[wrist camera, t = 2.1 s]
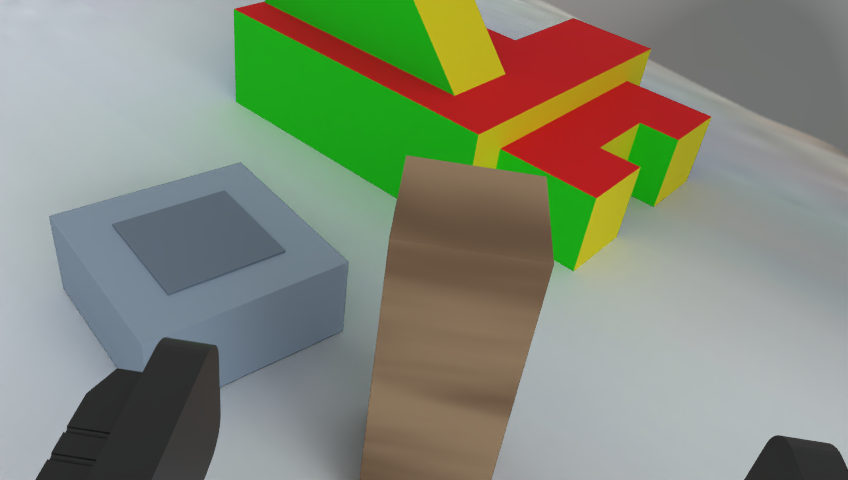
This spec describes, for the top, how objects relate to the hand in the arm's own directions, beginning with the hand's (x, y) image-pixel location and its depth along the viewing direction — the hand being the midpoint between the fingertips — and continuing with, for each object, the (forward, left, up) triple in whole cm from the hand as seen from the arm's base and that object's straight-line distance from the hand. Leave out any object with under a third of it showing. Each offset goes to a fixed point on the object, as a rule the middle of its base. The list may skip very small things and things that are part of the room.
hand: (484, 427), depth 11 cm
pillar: (-8, -8, -16) cm, 19 cm away
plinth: (-5, -20, -16) cm, 26 cm away
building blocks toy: (-27, -26, -16) cm, 41 cm away
